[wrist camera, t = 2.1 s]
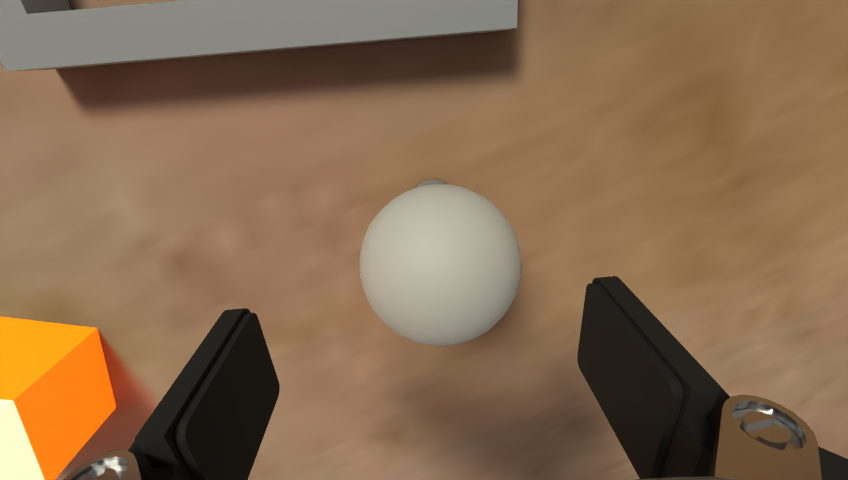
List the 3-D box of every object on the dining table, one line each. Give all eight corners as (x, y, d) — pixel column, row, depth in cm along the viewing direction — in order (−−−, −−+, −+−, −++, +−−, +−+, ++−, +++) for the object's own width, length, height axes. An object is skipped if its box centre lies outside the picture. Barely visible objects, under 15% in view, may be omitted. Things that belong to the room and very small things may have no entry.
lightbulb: (496, 149, 21) (566, 235, 11) (475, 249, 24) (516, 390, 14) (383, 134, 21) (352, 210, 11) (374, 237, 23) (342, 375, 13)
